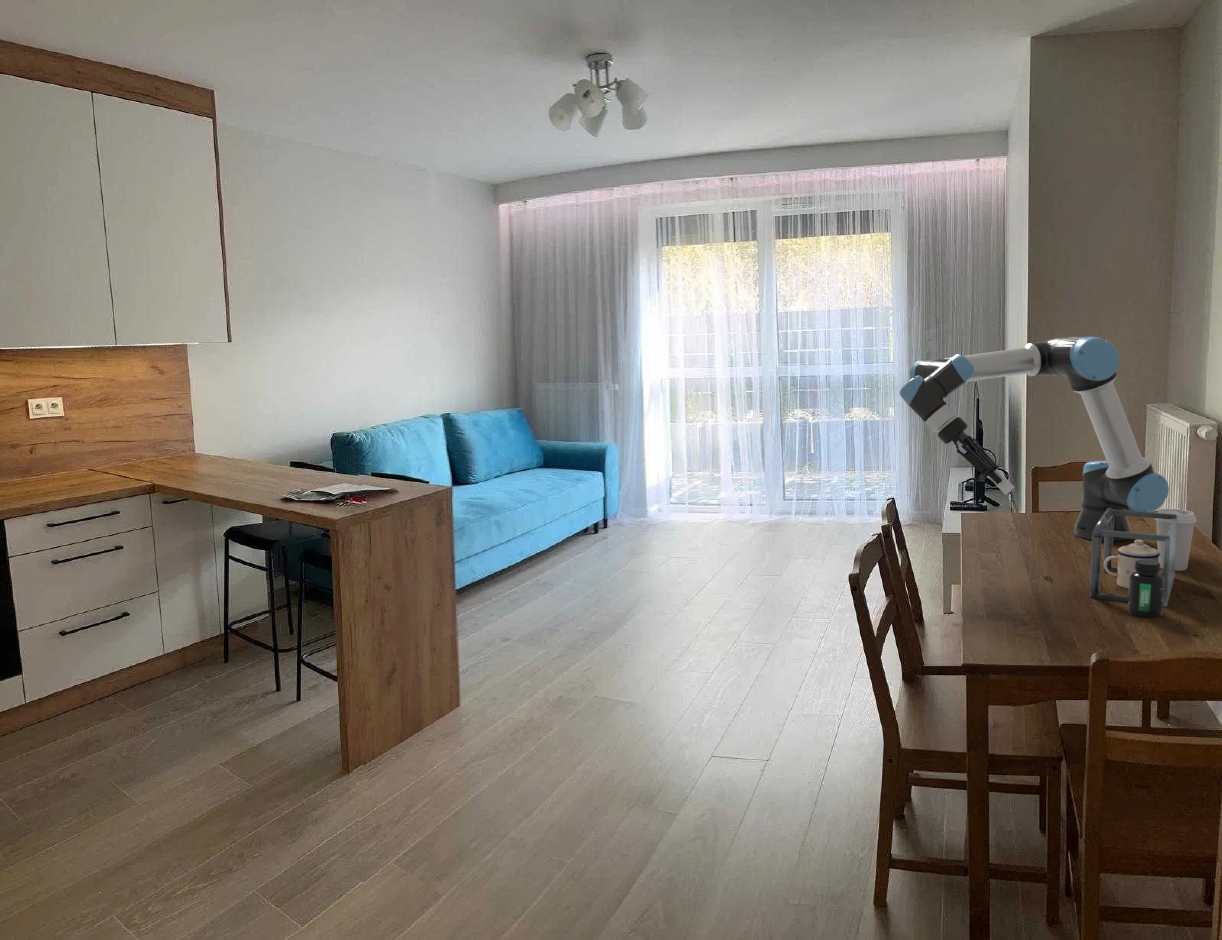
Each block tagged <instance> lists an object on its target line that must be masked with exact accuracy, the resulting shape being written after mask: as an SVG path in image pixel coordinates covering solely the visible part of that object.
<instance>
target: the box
mask: <svg viewBox="0 0 1222 940" xmlns="http://www.w3.org/2000/svg"><path fill="white" fill-rule="evenodd" d="M1114 515H1118V516H1127V517H1130V518H1131V517H1134V518H1146V519H1154V518H1158V519H1171V520H1172V521H1171V524H1170V527H1169V530H1168V533H1167V535H1159V534H1157V533H1144V532H1135V531H1131V532H1123V531H1113V530H1114ZM1177 524H1178V516H1177V514H1166V513H1158V512H1138V511H1131V510H1125V511H1124V510H1114V509H1113V508H1108V509H1107V510H1106V511H1105V513H1104V514H1103V516H1102V517H1101V519H1100V520H1099V522H1098V523H1097V525H1096V526H1095V528H1094V529H1093V531H1092V540H1091V549H1090V554H1091V555H1090V570H1089V571H1090V572H1089V573H1090V574H1089V578H1090V579H1089V595H1088V597H1089V598H1091V599H1100V600H1107V601H1116V602H1126V603H1128V595H1120V594H1111V593H1104V592H1102V593H1101V592H1100V581H1101V580H1100V578H1101V577H1100V576H1101V556H1102V553H1101V552H1102V541H1101V538H1102V536H1104V541H1103V561H1102V572H1103V573H1107V574H1109V573H1108V572H1107V571H1106V570H1105V568H1104V561H1105V559H1106V558H1107V557H1110V556H1113V548H1114V546H1113V545H1114V541H1113V537H1121V538H1130V539H1134V540H1143V541H1144V540H1145V541H1146V540H1147V541H1165V555H1164V569H1163V572H1159V574H1161V575H1162V576H1163V577H1164V580H1165V583H1164V601H1163V608H1167V606H1168V603H1169V600H1170V595H1171V591H1172V589H1173V584H1174V582H1175V581H1174V580H1175V576H1176V575H1175V574H1176V571H1175V558H1176V541H1177ZM1104 529H1105V530H1104ZM1107 567H1108V569H1109V570H1110V571H1111V572H1115V573H1118V567H1113V559H1111V560H1109V561H1108V563H1107Z"/></svg>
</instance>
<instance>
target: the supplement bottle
mask: <svg viewBox="0 0 1222 940" xmlns="http://www.w3.org/2000/svg"><path fill="white" fill-rule="evenodd" d="M1135 570H1136V571H1135V572H1133V573H1132V574H1131V575H1130V577H1129V589H1128V595H1127V596H1128V602H1127V611H1128V613H1129V614H1130V615H1132V616H1135V617H1139V618H1144V619H1156V618H1160V617H1162V616H1163V614H1164V607H1163V601H1164V583H1165V580H1164V577H1163V576H1162V575H1161V574H1159V573H1161V568H1160V563H1159V562H1156V561H1152V560H1137V561H1136V562H1135Z"/></svg>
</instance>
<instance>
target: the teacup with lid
mask: <svg viewBox="0 0 1222 940" xmlns="http://www.w3.org/2000/svg"><path fill="white" fill-rule="evenodd" d="M1117 553H1118V555H1112V556H1110V557H1107V558H1106V559H1105V561H1104V568H1105V570H1106V571H1107V572H1108V573H1107V574H1109V575H1111V576H1114V577H1117V579H1116V583H1117V585H1118V586H1119V587H1121V588H1123V589H1124V588H1125V589H1127V590H1129V577H1130V575H1131V574H1132V573H1133V572H1135V571H1136V570H1135V562H1136V561H1137V560H1152V561H1156V562H1158V560H1159V556H1160V553H1159V551H1158V549H1157V548H1153V547H1151V546H1149V545H1147V544H1146V543H1145V542H1144V539H1134V543H1129V544H1127V545H1122V546H1121V547H1119V548H1118V549H1117ZM1111 559H1112V560H1117V568H1118V573H1115V572H1111V571H1110V570H1109V569H1108V567H1107V563H1108V561H1109V560H1111Z"/></svg>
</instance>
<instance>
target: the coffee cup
mask: <svg viewBox="0 0 1222 940" xmlns="http://www.w3.org/2000/svg"><path fill="white" fill-rule="evenodd" d="M1157 513H1166V514H1177V516H1178V524H1177V541H1176V558H1175V572H1176V571H1178V572H1179V571H1180V572H1181V571H1186V570H1188V565H1189V558H1190V551H1191V545H1192V539H1193V534H1194V527H1195V523H1197V521H1198V520H1197V517H1196V516H1195V513H1194V512H1193V511H1190V510H1186V509H1179V508H1164V509H1159V510H1158V511H1157ZM1153 520H1155V523H1156V525H1155V526H1156V534H1159V535H1167V533H1168V530H1169V527H1170V524H1171V521H1172V520H1171V519H1158V518H1153ZM1156 543H1157V544H1156V546H1157V548H1156V549H1157V550H1158V551H1159V553H1160V556H1159V560H1158V562H1159V563H1160V569H1162V570H1164V555H1165V541H1157V542H1156Z"/></svg>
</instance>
